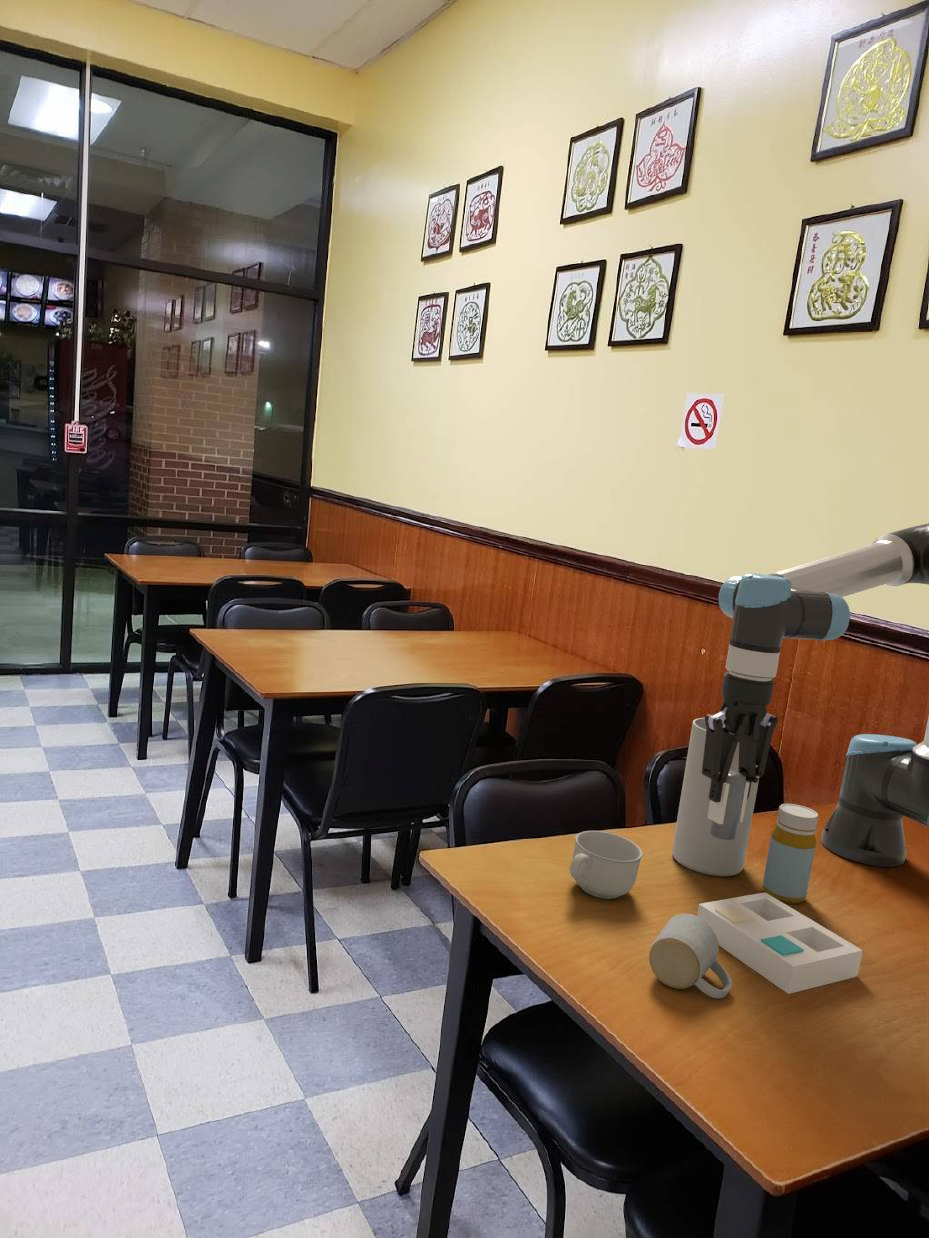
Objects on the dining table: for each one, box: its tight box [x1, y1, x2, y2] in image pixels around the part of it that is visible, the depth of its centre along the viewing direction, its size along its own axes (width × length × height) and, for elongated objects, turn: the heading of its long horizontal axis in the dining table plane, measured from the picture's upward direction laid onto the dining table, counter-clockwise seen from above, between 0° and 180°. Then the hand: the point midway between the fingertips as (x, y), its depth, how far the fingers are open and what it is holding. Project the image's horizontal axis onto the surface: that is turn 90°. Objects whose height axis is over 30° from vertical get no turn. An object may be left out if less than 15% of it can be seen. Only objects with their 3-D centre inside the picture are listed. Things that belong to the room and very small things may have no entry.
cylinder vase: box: [671, 717, 760, 877], centre depth 160 cm, size 12×12×25 cm
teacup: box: [569, 830, 644, 900], centre depth 145 cm, size 14×11×8 cm
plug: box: [709, 770, 746, 840], centre depth 142 cm, size 4×4×10 cm
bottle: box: [761, 803, 819, 905], centre depth 151 cm, size 7×7×15 cm
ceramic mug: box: [648, 913, 733, 1000], centre depth 121 cm, size 11×8×8 cm
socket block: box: [696, 891, 864, 995], centre depth 132 cm, size 14×18×4 cm
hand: (725, 819), depth 143 cm, fingers closed on plug, 3 cm apart
